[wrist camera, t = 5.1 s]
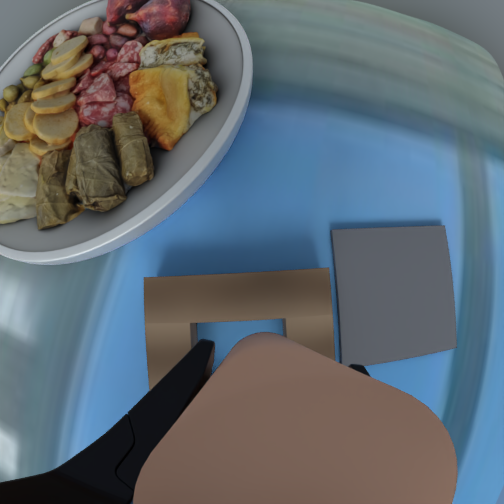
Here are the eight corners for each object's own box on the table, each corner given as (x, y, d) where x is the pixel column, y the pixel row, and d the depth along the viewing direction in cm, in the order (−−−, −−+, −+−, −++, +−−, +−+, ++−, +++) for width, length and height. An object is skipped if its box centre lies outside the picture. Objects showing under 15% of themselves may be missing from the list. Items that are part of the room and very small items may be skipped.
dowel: (315, 393, 15) (462, 544, 2) (240, 419, 15) (211, 626, 2) (289, 320, 16) (422, 316, 3) (213, 347, 16) (79, 428, 3)
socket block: (328, 432, 21) (336, 444, 18) (166, 438, 21) (157, 450, 18) (321, 272, 23) (328, 267, 20) (154, 281, 23) (143, 277, 20)
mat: (453, 347, 22) (456, 347, 21) (340, 367, 22) (342, 369, 21) (441, 227, 24) (444, 225, 23) (330, 231, 23) (332, 229, 23)
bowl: (204, 313, 23) (179, 312, 15) (-43, 236, 24) (-91, 218, 16) (278, 24, 28) (283, -32, 21) (58, 28, 30) (37, -9, 22)
